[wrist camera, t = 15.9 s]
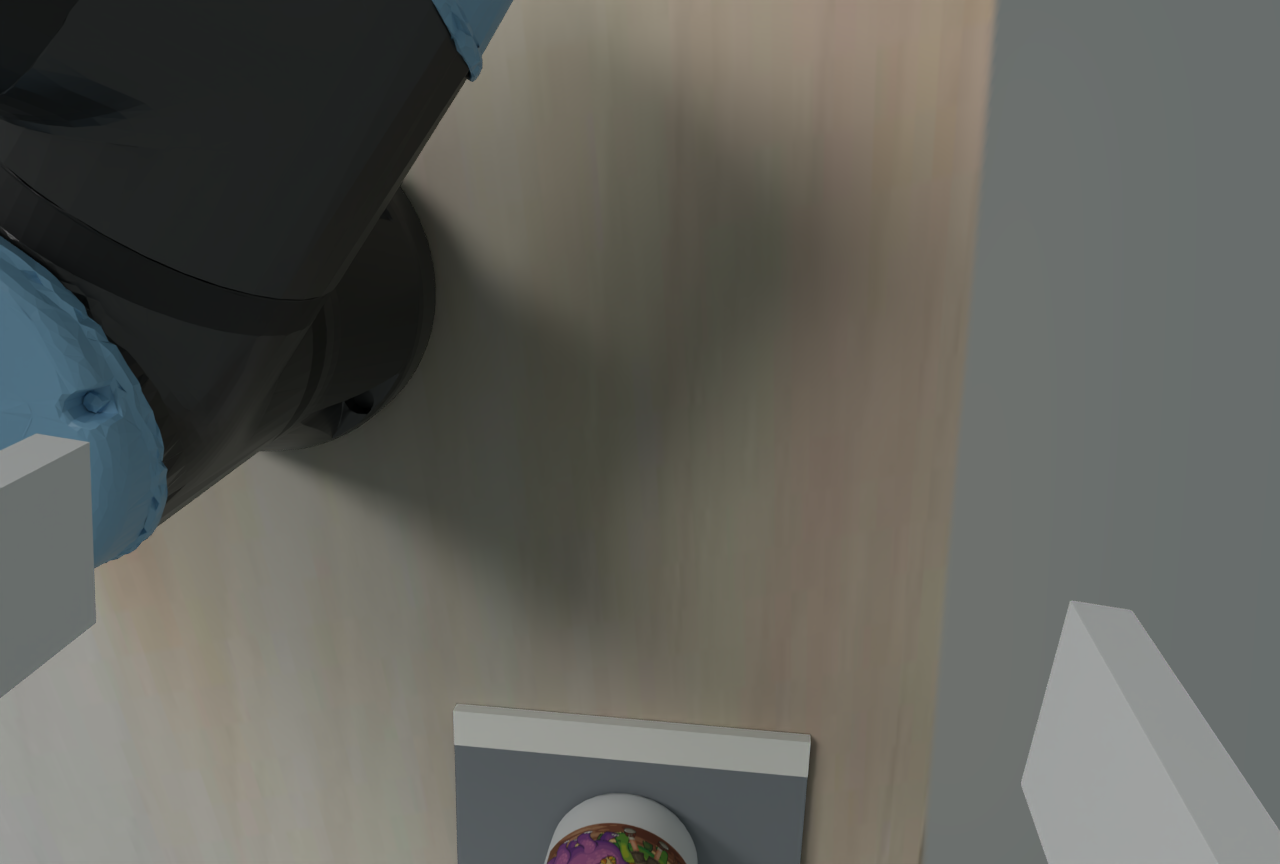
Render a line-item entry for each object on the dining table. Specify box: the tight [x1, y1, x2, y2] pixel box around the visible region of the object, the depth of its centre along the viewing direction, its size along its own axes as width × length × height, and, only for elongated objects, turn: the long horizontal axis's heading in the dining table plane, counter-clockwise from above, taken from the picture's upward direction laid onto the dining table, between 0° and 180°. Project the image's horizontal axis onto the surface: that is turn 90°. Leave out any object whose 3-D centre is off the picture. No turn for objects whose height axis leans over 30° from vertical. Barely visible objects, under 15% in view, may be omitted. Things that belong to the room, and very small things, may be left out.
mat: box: [453, 704, 811, 864], centre depth 58 cm, size 18×14×1 cm
